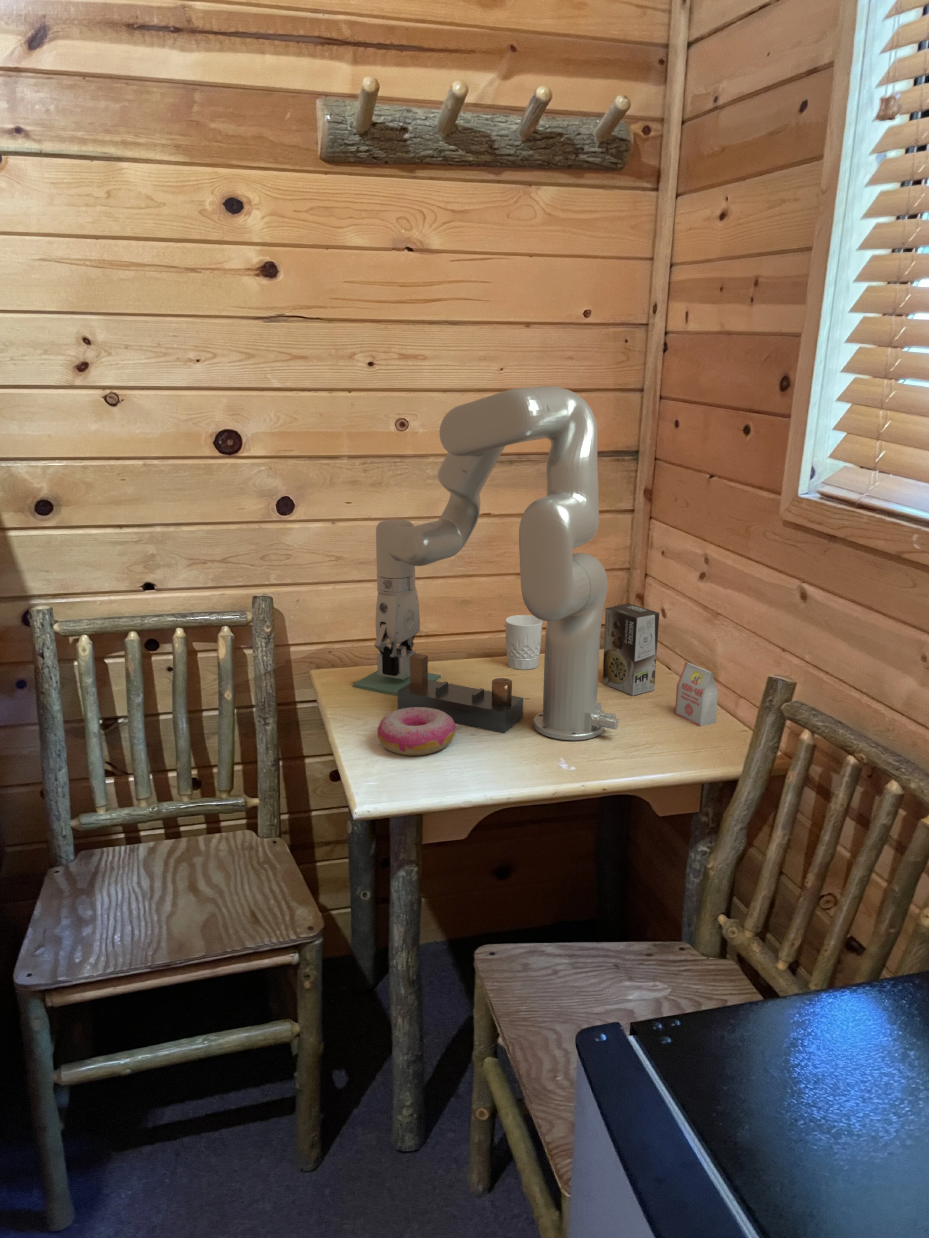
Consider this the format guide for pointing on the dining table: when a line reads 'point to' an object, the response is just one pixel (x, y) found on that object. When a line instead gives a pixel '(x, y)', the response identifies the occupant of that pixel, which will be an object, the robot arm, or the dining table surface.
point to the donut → (416, 731)
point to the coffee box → (630, 648)
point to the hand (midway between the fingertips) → (397, 669)
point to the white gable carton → (696, 695)
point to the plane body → (462, 699)
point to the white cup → (523, 641)
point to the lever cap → (398, 662)
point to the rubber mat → (387, 683)
